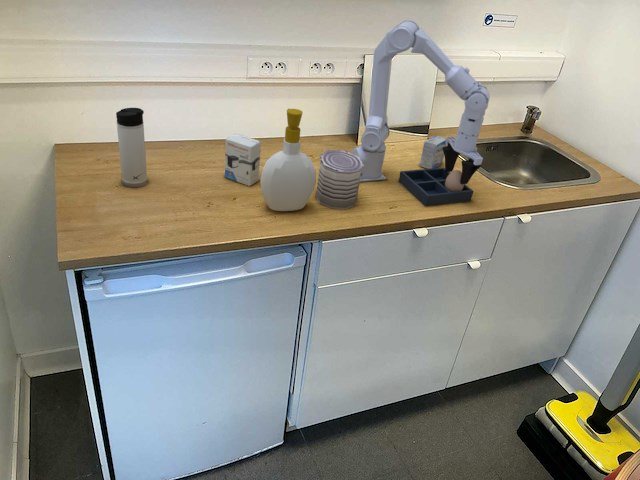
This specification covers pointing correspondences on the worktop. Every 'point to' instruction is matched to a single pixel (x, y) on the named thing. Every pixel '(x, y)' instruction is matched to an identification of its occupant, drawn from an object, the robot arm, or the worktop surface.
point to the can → (338, 179)
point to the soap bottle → (288, 171)
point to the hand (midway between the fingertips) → (456, 177)
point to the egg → (454, 181)
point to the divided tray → (432, 187)
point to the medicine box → (433, 152)
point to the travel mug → (132, 146)
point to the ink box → (242, 159)
